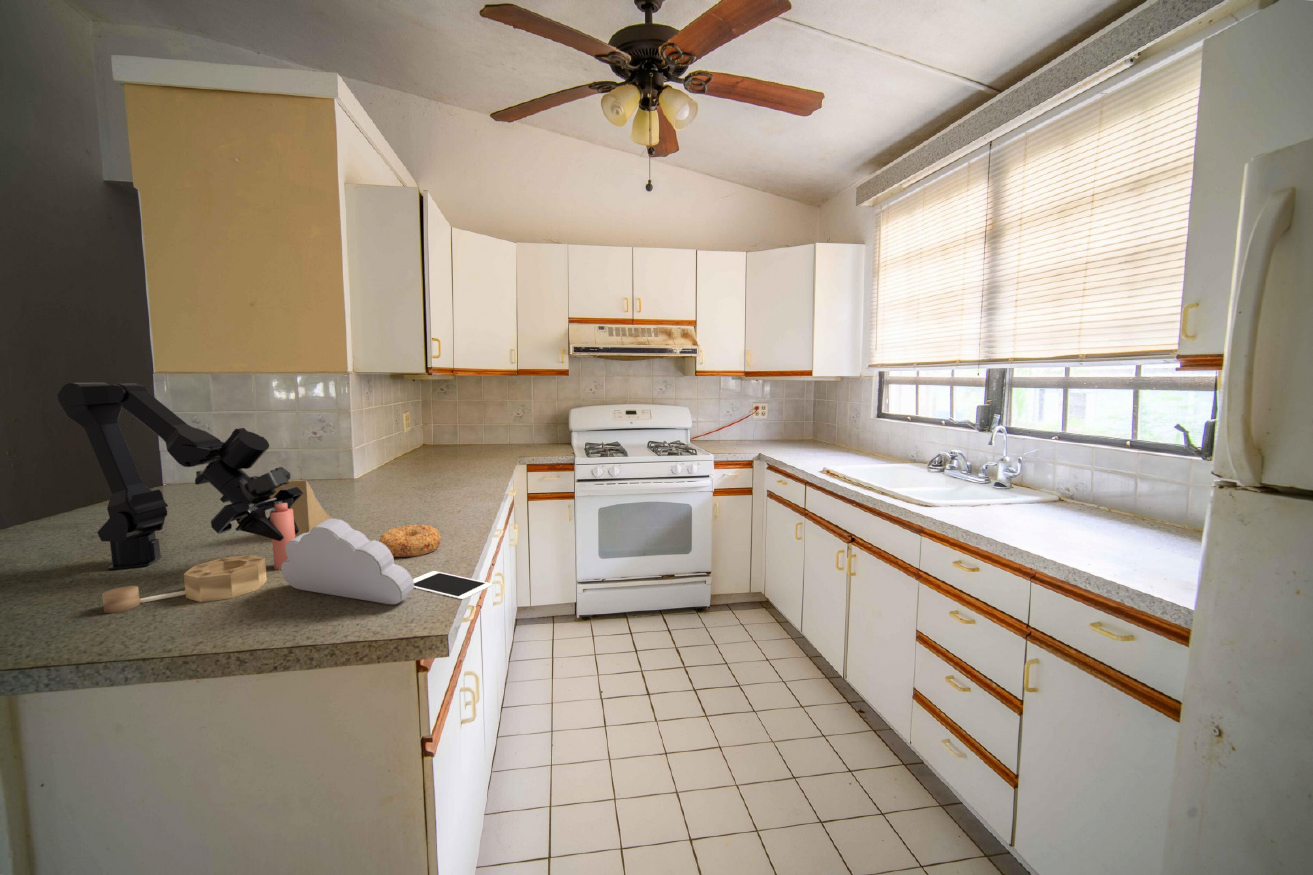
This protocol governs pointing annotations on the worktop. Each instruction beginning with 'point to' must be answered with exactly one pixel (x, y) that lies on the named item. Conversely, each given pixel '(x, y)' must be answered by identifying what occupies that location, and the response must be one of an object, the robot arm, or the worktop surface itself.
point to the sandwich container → (305, 507)
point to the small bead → (121, 599)
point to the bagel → (411, 540)
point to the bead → (225, 578)
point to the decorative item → (345, 565)
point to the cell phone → (449, 585)
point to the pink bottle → (282, 532)
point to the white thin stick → (162, 596)
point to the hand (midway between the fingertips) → (289, 536)
